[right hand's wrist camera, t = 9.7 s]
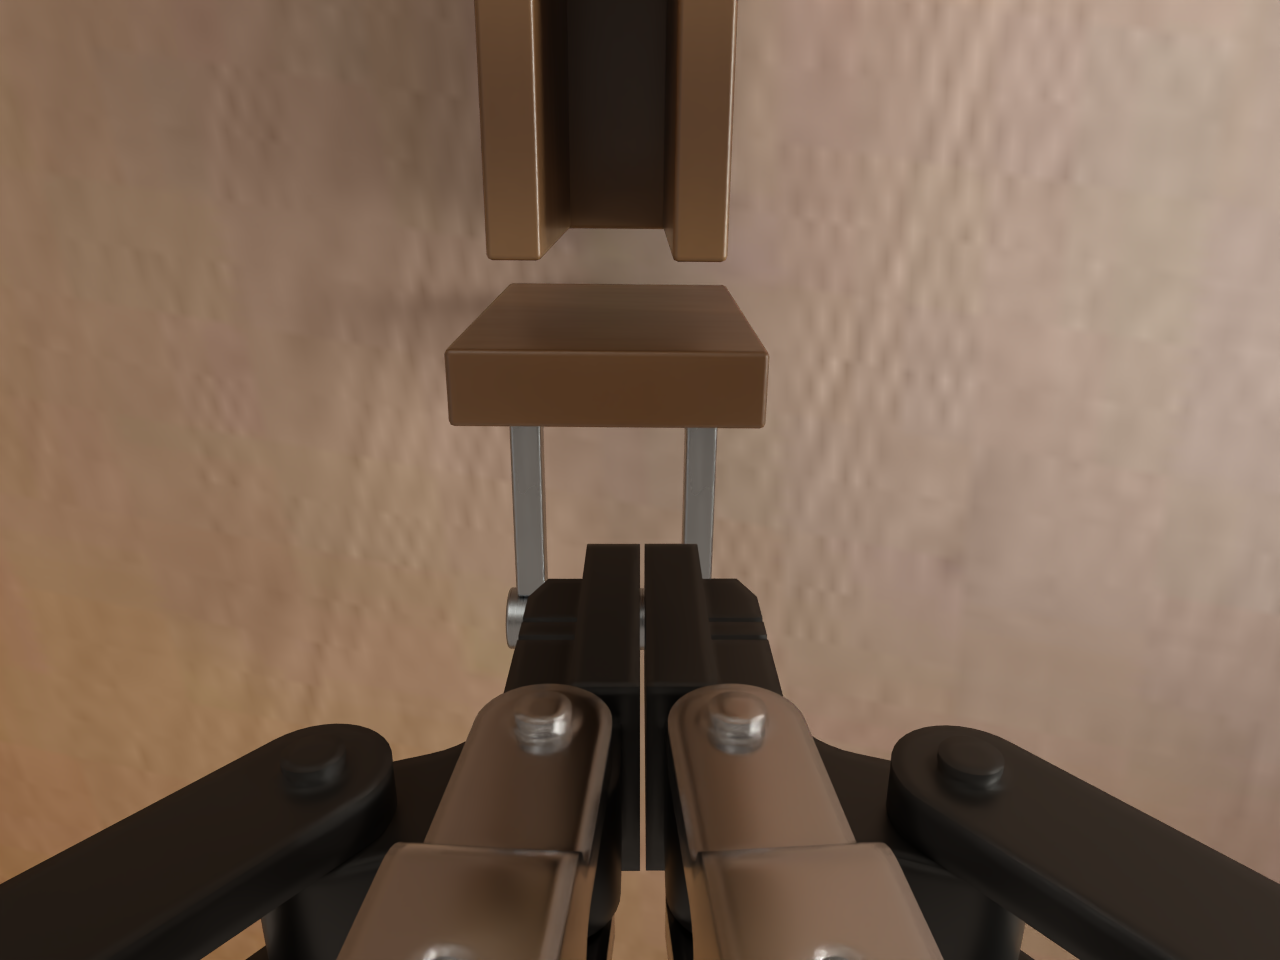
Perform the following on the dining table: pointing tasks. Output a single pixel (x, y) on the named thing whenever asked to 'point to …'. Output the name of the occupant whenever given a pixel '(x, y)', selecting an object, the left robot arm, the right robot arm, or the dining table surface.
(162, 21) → the dining table surface
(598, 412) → the drawer
